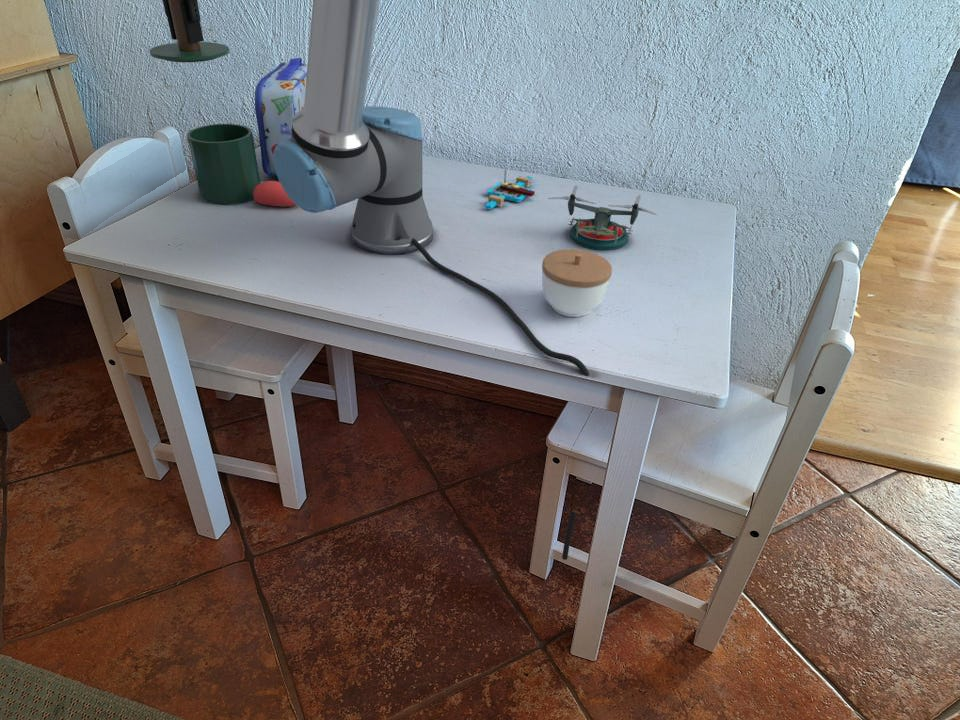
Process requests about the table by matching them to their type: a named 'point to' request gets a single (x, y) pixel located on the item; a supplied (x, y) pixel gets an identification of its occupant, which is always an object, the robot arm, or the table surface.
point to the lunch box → (278, 107)
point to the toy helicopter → (600, 224)
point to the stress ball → (272, 194)
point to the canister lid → (186, 43)
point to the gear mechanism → (509, 191)
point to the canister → (224, 162)
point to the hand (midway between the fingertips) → (187, 39)
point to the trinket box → (575, 281)
